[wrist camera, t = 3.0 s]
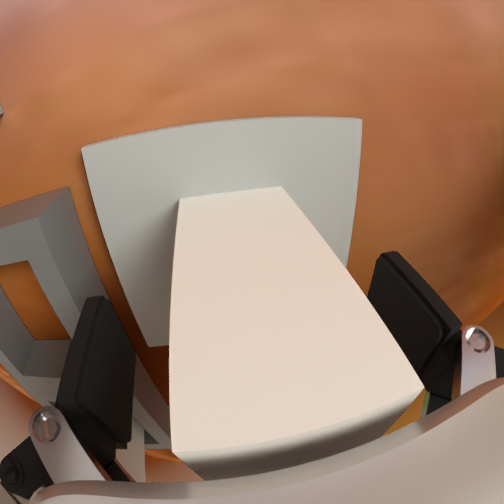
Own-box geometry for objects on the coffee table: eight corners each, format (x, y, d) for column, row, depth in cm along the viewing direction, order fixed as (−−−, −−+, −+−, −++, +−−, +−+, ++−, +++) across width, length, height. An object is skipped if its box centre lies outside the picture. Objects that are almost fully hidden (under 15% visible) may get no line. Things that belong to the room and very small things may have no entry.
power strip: (68, 186, 10) (31, 224, 7) (177, 419, 21) (179, 453, 18) (-41, 223, 9) (-74, 259, 6) (95, 419, 20) (92, 451, 17)
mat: (355, 117, 10) (362, 119, 10) (332, 309, 16) (336, 316, 16) (86, 145, 9) (80, 148, 9) (149, 339, 15) (148, 347, 15)
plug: (281, 186, 11) (424, 386, 4) (280, 292, 14) (348, 466, 7) (179, 198, 10) (171, 451, 3) (200, 304, 14) (223, 494, 6)
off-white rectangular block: (118, 374, 17) (112, 496, 9) (144, 408, 20) (147, 507, 12) (72, 374, 16) (57, 485, 9) (103, 408, 19) (99, 501, 12)
